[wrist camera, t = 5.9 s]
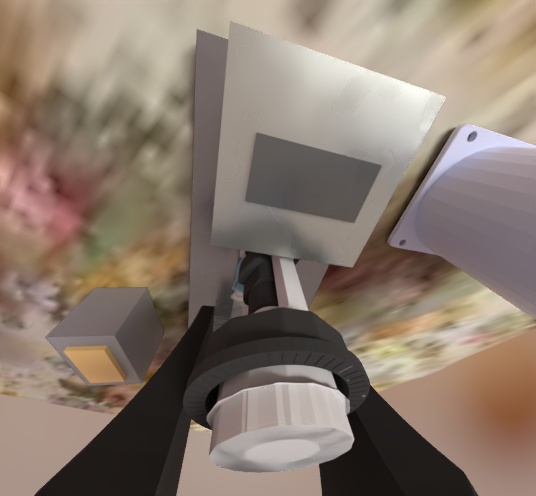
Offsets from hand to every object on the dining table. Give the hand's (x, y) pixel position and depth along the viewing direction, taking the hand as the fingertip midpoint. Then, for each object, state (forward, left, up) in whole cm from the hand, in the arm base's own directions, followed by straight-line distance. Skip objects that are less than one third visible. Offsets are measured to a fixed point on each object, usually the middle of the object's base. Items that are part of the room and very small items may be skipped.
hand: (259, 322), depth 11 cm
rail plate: (0, 0, -5) cm, 5 cm away
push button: (0, -2, -4) cm, 5 cm away
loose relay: (+10, +7, -5) cm, 13 cm away
